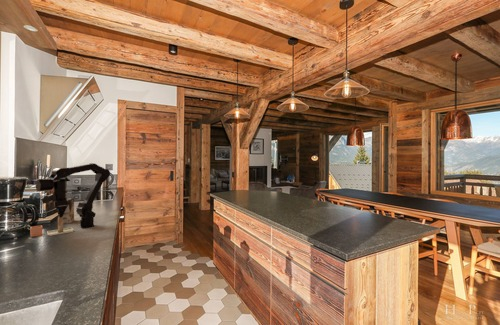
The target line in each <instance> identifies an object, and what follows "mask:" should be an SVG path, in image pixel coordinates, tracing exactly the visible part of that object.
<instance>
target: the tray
mask: <svg viewBox="0 0 500 325" xmlns="http://www.w3.org/2000/svg"><path fill="white" fill-rule="evenodd" d="M74 232H75V229H74V227H65V228H64V227H63V232H61V233H58V229H53V230H47V231H46V235H47V237H51V236H56V235H62V234H69V233H74Z"/></svg>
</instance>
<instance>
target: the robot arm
mask: <svg viewBox="0 0 500 325" xmlns="http://www.w3.org/2000/svg"><path fill="white" fill-rule="evenodd" d="M87 171H92V172H93V173H94V174H95V176H94V182H93V184H92V185H91V187H90V189H89V191H88V193H87V194H86V197H85V198H84V200H83V201H82V202H81V201H80V202H78V205H77V206H76V212H75V213H76V214H77V215H78V216H79V217H80V219H79V227H80V228H81V229H86V228H93V227H95V225H94V220H95V218H96V213H95V212H94V211H93V207H94V205H93V204H94V201H95V199H96V198H97V195H98V193H99V192H100V189H101V187H102V185H103V184H104V182H106V181H107V180H108V178H110V176H111V172H110V170H109V169H108V168H104V167H102V166H100V165H98V164H96V163H92V162H91V163H87V164H83V165H77V166H73V167H72V166H71V167H56V168H53V169H52V171H51V174H50V175H49V176H48V177H47V178H37V181H36V184H35V190H36V192H45V191H46V192H47V191H52V190H53V191H52V193H51V194H48V195H44V196H42V197H40V200H41V202H42V204H43V205H45V204H47V203H49V202H51V204H52V205H53V206H54V208H55V209H56V213H57V215H58V217H63V214H64V212H65V210H66V208H67V207H68V205H69V202H68V201H67V182H71V179H69V178H68V177H69V176H71V175H73V174H78V173H83V172H87Z"/></svg>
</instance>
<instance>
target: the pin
mask: <svg viewBox="0 0 500 325" xmlns="http://www.w3.org/2000/svg"><path fill="white" fill-rule="evenodd" d="M63 229H64V223H63V217H60V216H57V230H58V233H61V232H63Z"/></svg>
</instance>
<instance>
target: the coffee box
mask: <svg viewBox="0 0 500 325" xmlns="http://www.w3.org/2000/svg"><path fill="white" fill-rule="evenodd" d="M66 198H67V197H66ZM67 201H68V202H69V205H68V207H67V208H66V210H65V212H64V214H63V224H69V223H73V222H74V221H75V197H68V198H67Z"/></svg>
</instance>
